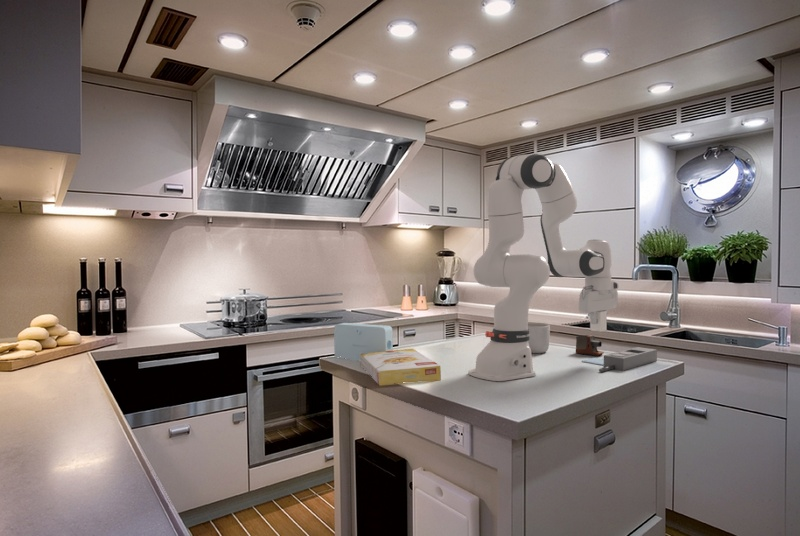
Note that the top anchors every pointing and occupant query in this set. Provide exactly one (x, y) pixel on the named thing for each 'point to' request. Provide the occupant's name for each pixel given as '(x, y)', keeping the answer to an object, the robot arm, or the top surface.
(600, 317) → the block
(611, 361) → the power strip
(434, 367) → the cereal box
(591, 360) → the mat
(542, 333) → the planter
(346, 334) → the light blue box
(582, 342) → the electronic device
